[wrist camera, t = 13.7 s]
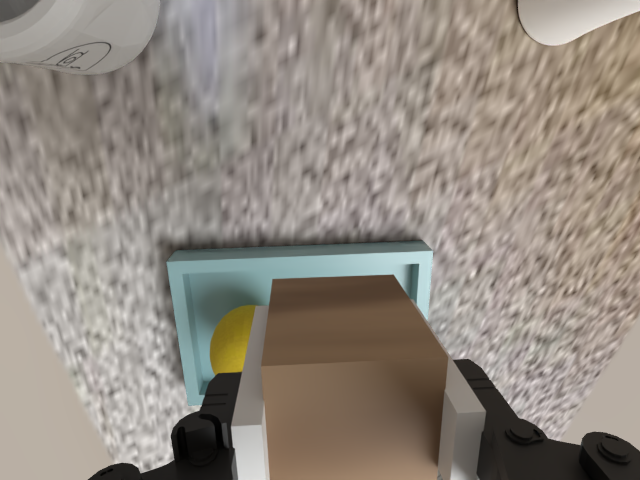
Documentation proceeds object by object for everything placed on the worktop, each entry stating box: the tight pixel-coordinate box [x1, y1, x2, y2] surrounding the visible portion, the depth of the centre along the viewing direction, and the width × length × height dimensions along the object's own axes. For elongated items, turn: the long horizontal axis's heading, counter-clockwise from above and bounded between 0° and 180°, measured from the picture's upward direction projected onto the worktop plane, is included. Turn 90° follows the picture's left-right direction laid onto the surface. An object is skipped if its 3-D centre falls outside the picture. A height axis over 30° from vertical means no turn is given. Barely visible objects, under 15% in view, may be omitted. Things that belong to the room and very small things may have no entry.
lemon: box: [210, 305, 258, 376], centre depth 29 cm, size 6×6×8 cm
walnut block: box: [261, 274, 448, 480], centre depth 14 cm, size 5×5×6 cm
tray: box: [167, 241, 433, 406], centre depth 33 cm, size 13×20×2 cm, turn 91°
